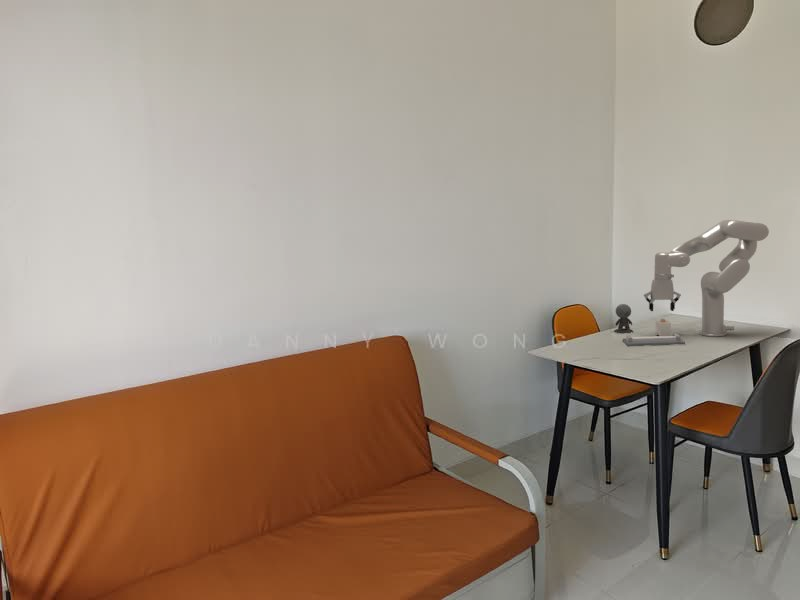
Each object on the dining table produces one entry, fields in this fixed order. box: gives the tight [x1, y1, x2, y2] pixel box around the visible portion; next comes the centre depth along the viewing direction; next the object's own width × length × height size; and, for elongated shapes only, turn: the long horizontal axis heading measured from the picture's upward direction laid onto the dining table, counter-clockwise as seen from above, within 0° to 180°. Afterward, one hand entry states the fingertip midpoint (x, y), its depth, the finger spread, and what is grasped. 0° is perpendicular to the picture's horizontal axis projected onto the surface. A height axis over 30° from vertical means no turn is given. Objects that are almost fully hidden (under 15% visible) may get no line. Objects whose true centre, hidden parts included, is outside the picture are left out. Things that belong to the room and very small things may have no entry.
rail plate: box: [622, 333, 686, 347], centre depth 270 cm, size 26×11×3 cm, turn 80°
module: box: [655, 318, 672, 336], centre depth 281 cm, size 5×8×9 cm, turn 170°
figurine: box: [614, 303, 634, 334], centre depth 297 cm, size 9×10×15 cm
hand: (661, 310), depth 279 cm, fingers open, 9 cm apart
